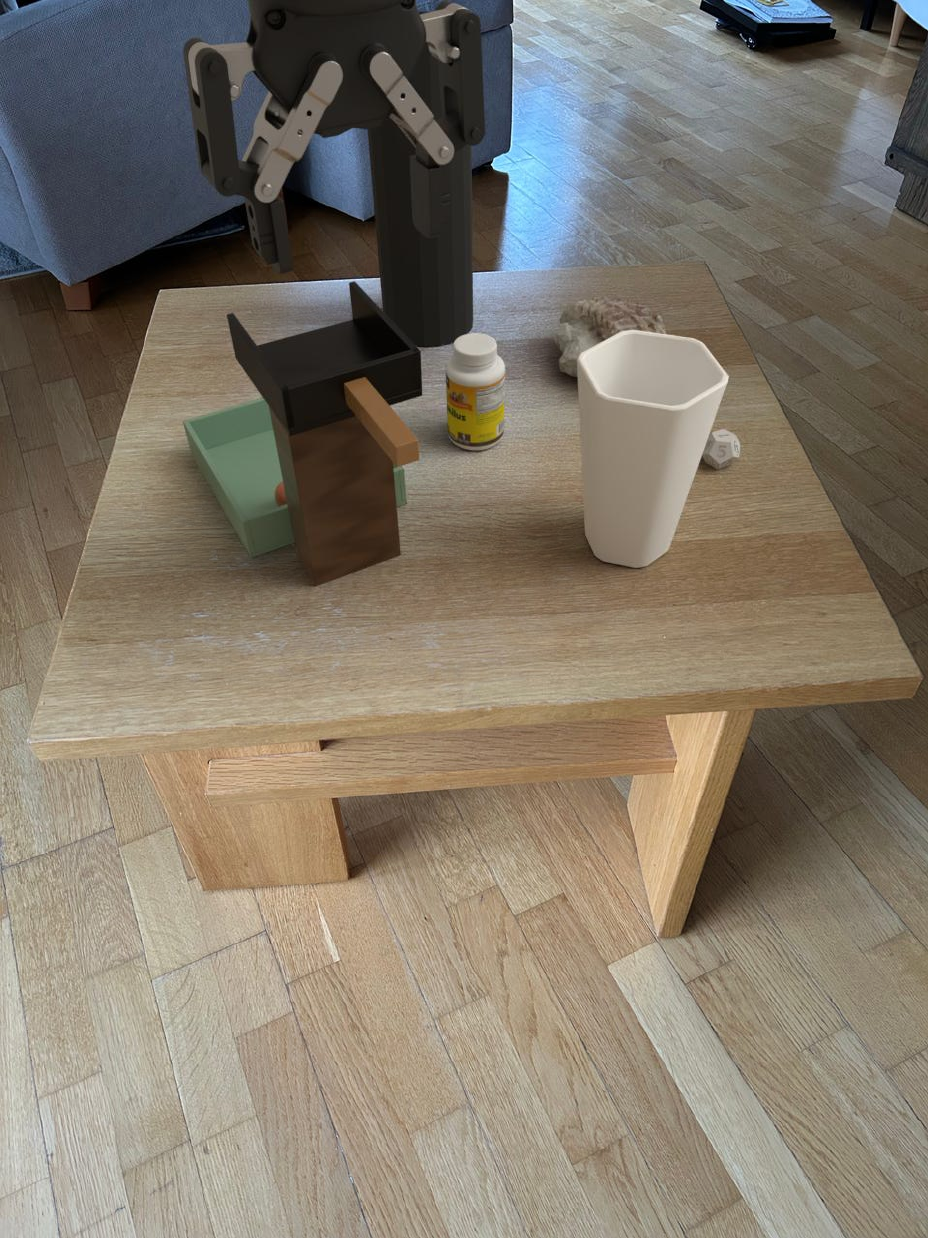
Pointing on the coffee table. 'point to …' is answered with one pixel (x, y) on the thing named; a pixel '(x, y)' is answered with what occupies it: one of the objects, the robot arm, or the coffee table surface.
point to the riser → (338, 498)
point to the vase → (408, 261)
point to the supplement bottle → (475, 393)
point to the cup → (642, 438)
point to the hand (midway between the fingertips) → (356, 249)
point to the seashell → (599, 326)
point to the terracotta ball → (280, 495)
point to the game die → (721, 449)
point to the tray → (249, 472)
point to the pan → (339, 375)
